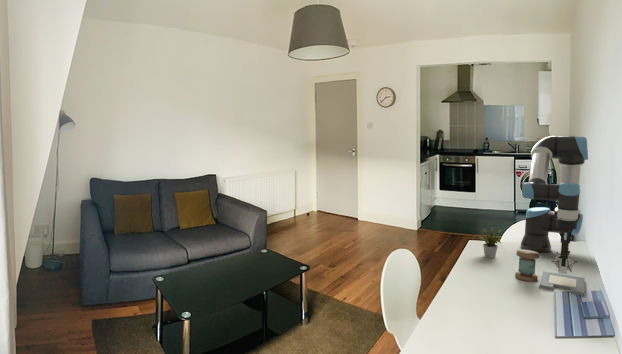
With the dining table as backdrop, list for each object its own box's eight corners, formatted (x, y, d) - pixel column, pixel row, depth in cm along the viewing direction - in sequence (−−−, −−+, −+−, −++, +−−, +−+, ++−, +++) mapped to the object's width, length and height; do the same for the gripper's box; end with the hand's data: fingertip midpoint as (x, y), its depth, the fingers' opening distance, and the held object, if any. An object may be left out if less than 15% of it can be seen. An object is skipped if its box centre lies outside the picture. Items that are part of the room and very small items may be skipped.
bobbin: (516, 273, 193) (518, 248, 192) (538, 277, 188) (540, 251, 187) (513, 279, 186) (515, 253, 184) (536, 283, 181) (538, 256, 179)
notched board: (543, 274, 192) (543, 270, 192) (584, 281, 183) (584, 277, 183) (539, 288, 175) (539, 284, 175) (584, 296, 166) (584, 292, 166)
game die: (566, 280, 177) (575, 267, 170) (546, 270, 181) (553, 256, 174) (574, 266, 181) (582, 253, 174) (553, 256, 186) (561, 243, 179)
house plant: (471, 258, 215) (472, 227, 213) (474, 251, 228) (475, 222, 226) (501, 262, 209) (502, 230, 207) (502, 254, 221) (504, 225, 219)
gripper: (558, 213, 186) (554, 262, 189) (555, 222, 169) (551, 275, 172) (577, 215, 182) (574, 265, 185) (577, 224, 165) (572, 279, 167)
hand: (563, 270), depth 178 cm, fingers closed on game die, 8 cm apart
